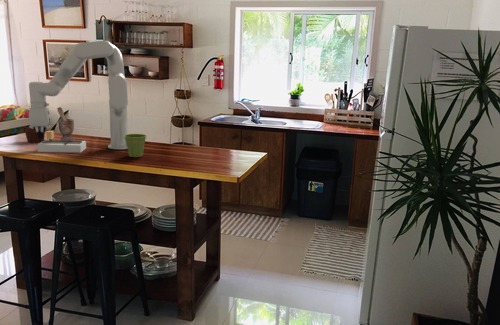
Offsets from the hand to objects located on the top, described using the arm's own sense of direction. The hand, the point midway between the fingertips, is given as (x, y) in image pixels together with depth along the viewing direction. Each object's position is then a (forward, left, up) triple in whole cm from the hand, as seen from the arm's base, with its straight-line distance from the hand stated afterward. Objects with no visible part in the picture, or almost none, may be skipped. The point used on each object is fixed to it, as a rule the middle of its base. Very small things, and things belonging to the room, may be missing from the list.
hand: (41, 138), depth 231 cm
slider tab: (-5, 0, -2) cm, 5 cm away
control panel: (-11, 0, -6) cm, 12 cm away
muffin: (+10, -20, -6) cm, 24 cm away
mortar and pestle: (-5, -25, -6) cm, 27 cm away
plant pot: (-52, +13, -6) cm, 54 cm away
